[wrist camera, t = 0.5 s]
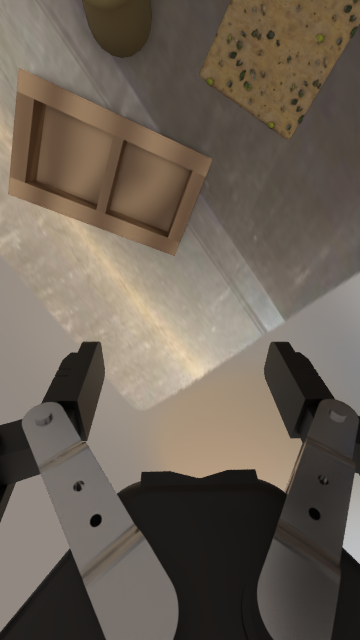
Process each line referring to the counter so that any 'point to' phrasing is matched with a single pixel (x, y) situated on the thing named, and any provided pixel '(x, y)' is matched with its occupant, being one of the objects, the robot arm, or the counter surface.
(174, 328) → the counter surface
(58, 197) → the caddy
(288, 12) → the tan speckled flat square
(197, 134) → the counter surface
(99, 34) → the olive game pawn
